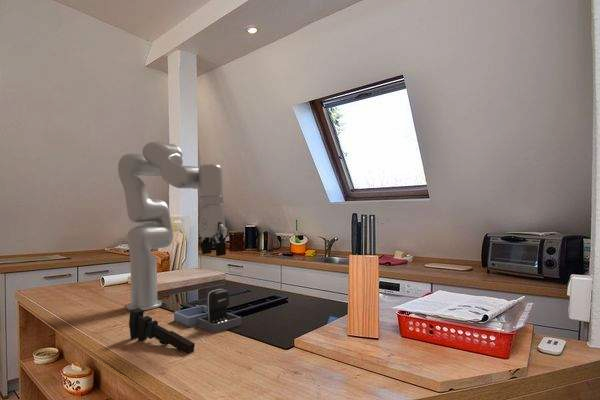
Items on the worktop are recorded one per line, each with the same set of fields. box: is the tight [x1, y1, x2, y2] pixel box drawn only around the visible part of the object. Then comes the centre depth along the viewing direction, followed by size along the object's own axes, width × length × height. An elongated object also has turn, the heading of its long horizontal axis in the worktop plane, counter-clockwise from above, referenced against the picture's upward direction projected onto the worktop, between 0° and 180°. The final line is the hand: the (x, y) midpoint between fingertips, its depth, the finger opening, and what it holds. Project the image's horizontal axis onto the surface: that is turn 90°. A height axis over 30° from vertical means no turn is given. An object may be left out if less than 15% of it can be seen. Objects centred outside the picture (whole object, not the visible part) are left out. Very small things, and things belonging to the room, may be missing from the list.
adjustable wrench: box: [128, 308, 196, 355], centre depth 105 cm, size 8×3×25 cm
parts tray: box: [173, 304, 208, 328], centre depth 126 cm, size 10×11×3 cm
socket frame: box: [196, 312, 243, 334], centre depth 120 cm, size 10×10×2 cm
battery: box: [206, 288, 231, 324], centre depth 120 cm, size 7×4×11 cm, turn 140°
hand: (213, 254), depth 121 cm, fingers open, 9 cm apart
